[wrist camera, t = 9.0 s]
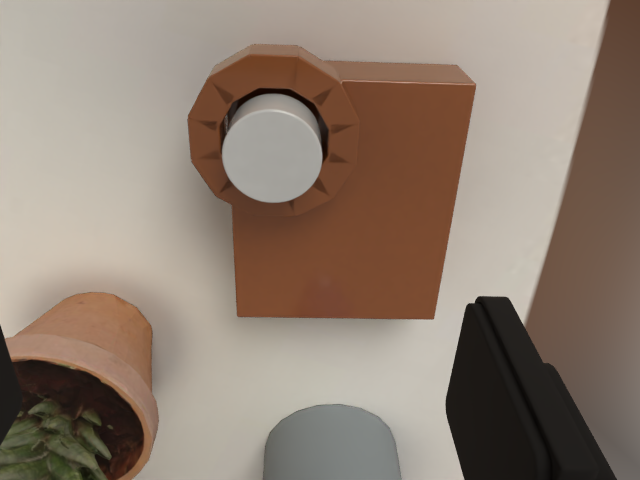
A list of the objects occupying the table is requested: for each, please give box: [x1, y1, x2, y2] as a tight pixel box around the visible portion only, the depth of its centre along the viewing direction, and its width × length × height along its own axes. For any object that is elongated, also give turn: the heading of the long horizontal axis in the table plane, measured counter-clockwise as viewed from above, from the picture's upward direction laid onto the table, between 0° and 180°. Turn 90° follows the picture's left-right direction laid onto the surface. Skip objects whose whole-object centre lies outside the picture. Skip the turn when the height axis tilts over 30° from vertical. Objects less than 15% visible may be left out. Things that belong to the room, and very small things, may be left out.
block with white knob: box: [187, 44, 476, 319], centre depth 25 cm, size 13×11×5 cm
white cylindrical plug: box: [222, 93, 322, 203], centre depth 21 cm, size 4×4×2 cm
